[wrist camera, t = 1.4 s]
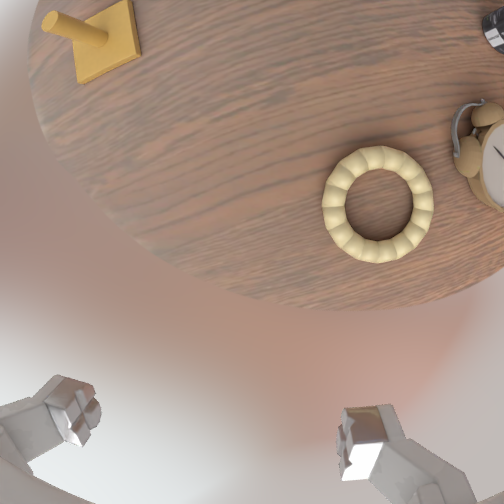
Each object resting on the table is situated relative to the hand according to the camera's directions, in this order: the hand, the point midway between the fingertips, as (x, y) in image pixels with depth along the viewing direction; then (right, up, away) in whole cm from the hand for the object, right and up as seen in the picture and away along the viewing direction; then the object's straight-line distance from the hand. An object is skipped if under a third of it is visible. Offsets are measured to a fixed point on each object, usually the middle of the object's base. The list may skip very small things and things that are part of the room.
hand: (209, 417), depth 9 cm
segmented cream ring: (+15, +10, +23) cm, 29 cm away
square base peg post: (-17, +32, +21) cm, 42 cm away
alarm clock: (+30, +17, +20) cm, 40 cm away
